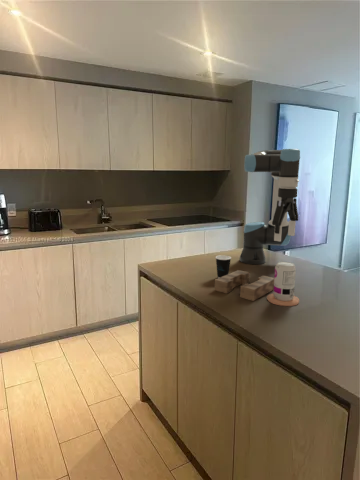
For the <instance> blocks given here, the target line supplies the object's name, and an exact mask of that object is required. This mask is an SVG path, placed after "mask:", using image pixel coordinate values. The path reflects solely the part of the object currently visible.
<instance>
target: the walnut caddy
mask: <svg viewBox="0 0 360 480" xmlns="http://www.w3.org/2000/svg"><path fill="white" fill-rule="evenodd" d="M250 279H251V278H250V272H248V271H243V270H239V269H237V270H235V271H232V272H230V273H229V274H227V275H225V276H223V277H220V278H218V277H217V278H216V279H214V291H217V292H219V293H224V294H228V293H230V292H232V291H233V289H234V288H236V287H238V286H240V290H239V291H240V293H239V297H240V298H242V299H246V300H249V301H253V302H254V301H256V300H258V299H259V298H261V297H264V296H265V295H266V294H268V293H271V291H274V277H271V276H267V275H261V276H259V277H257V280H256V281H254V282H252V283H250ZM249 283H250V284H249Z"/></svg>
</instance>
